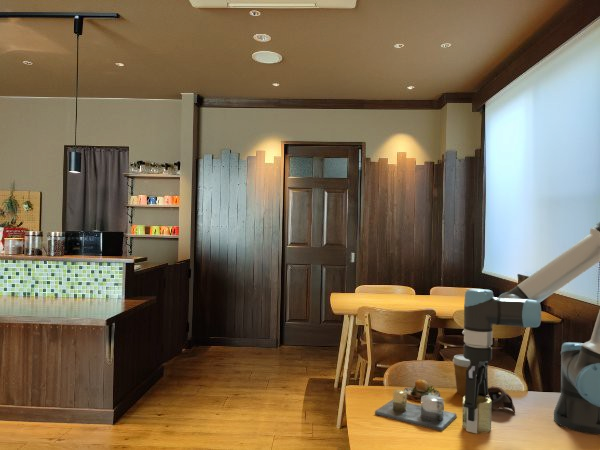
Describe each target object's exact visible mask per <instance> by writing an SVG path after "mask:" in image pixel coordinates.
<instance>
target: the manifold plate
mask: <svg viewBox="0 0 600 450" xmlns="http://www.w3.org/2000/svg"><path fill="white" fill-rule="evenodd" d="M392 397H393V398H392V400H390V401H389V402H387V403H385V404H383V405H382V406H381V407H379V408H378V409H376V410H374V415H376V416H380V417H385V418H388V419H392V420H396V421H400V422H404V423H407V424H412V425H416V426H420V427H423V428H428V429H432V430H436V431H440V432H443V431H444V430H445V429H446V428H447V427H448V426H449V425H450V424H451V423H452V422H453V421H455V419H456V418H457V413H456V412H455V413H454V412H451V411H447V410H445V399H444V398H443V397H441V396H440V397H438V396H433V395H425V396H422V397H421V402H420V404H416V403H411V402H407V401H408V400H407V399H408V398H407V392H406V391H404V389H395V390H393V392H392Z"/></svg>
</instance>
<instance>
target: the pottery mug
mask: <svg viewBox="0 0 600 450" xmlns="http://www.w3.org/2000/svg"><path fill="white" fill-rule="evenodd" d="M487 396H489V399H491V400H492V405H491V411H494V410H498V409H503V410H504V409H510V410H512V411H513V412H512V413H513V414H516V407H515V405H514V402H513V399H512V397H511V395H510V394H509V393H508V392H506V391H504V389H503V388H501V387H499V386H490V387H489V386H488V395H487Z"/></svg>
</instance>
